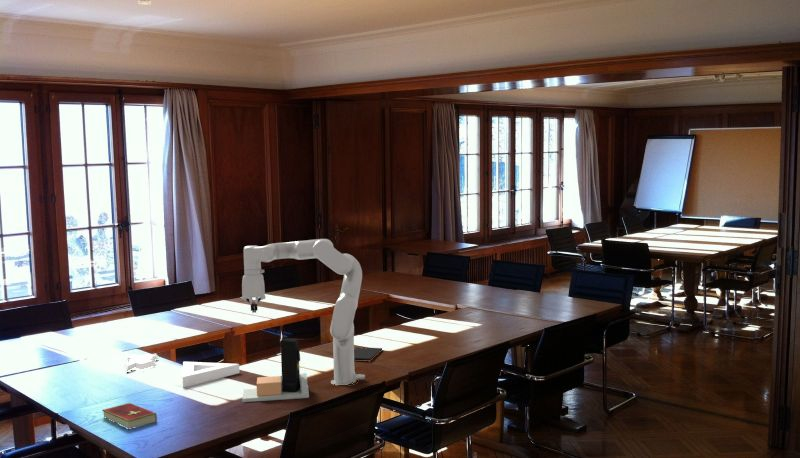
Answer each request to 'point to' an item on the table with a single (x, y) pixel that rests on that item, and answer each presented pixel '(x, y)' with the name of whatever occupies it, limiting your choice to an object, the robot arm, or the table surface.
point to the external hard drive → (365, 353)
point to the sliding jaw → (269, 385)
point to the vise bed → (252, 396)
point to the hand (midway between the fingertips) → (254, 312)
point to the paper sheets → (140, 361)
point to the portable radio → (290, 365)
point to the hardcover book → (130, 415)
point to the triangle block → (206, 372)
